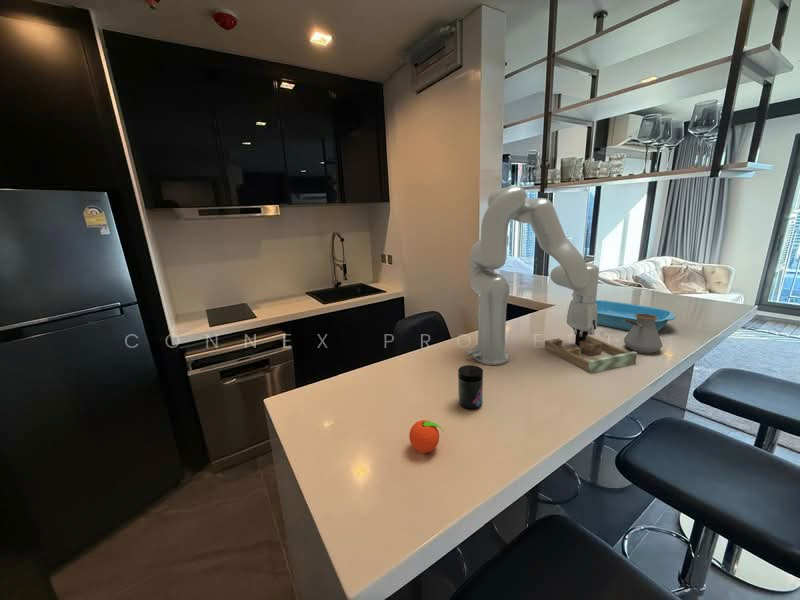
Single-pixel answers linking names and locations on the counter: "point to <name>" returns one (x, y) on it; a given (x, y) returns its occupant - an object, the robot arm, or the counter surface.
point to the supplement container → (470, 386)
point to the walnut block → (590, 347)
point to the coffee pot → (643, 334)
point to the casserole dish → (628, 314)
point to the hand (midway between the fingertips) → (579, 345)
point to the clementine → (424, 436)
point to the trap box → (596, 363)
